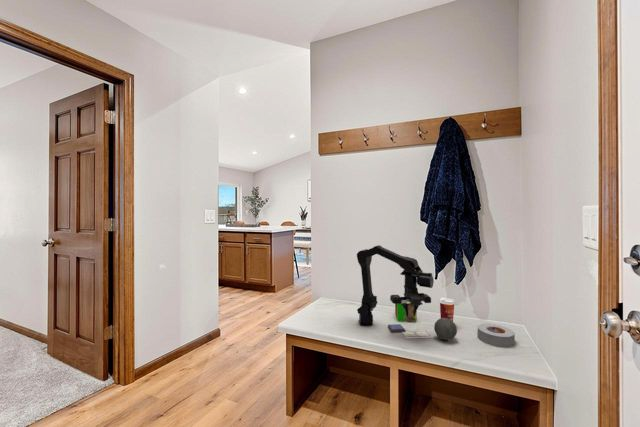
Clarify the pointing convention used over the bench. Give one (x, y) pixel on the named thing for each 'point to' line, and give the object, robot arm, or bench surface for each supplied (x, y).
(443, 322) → the decorative ball
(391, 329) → the ink pad
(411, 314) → the stamp
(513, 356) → the bench surface
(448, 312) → the paper cup
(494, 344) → the tape roll
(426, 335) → the print card
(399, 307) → the puzzle toy
